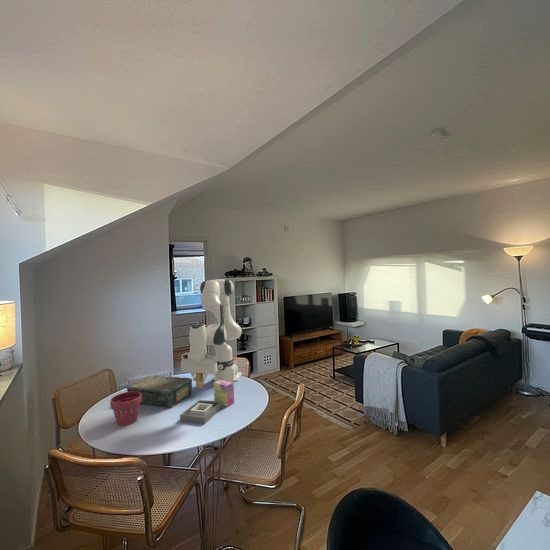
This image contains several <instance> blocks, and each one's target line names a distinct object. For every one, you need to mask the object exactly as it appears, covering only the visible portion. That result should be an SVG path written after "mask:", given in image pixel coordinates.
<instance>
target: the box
mask: <svg viewBox="0 0 550 550" xmlns="http://www.w3.org/2000/svg"><path fill="white" fill-rule="evenodd" d="M234 384H235V382H228V381H224V380H218V381H216V382H215V381H214V382H213V401H218V402H222V407H223V406H224V407H226V408H229V407H230V406H232V405H233V404H235V389H234V388H235V387H234V386H235V385H234Z"/></svg>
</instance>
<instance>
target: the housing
mask: <svg viewBox="0 0 550 550" xmlns="http://www.w3.org/2000/svg"><path fill="white" fill-rule="evenodd" d="M222 407H223V405H222V402H218V401H214V400H206V399H204V400H203V399H198V400H197V401H196V402H194V404H192V405H191V406H189V407H188V408H187V409H185V410H184V411H183V412H182V413H181V414H179V418H180V419H179V421H180V422H186V423H195V424H203V425H204V424H205V425H206V424H207V423H208V421H210V419H212V418H213V416H215V415H216V414H217V413H218V412H219V411H220V410H221V409H222Z"/></svg>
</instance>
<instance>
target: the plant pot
mask: <svg viewBox="0 0 550 550" xmlns="http://www.w3.org/2000/svg"><path fill="white" fill-rule="evenodd" d="M141 401H142V394H141V393H140V392H138V391H130V392H127V391H125V392H122V393H119V394H116V395H115V396H113V397H111V398H110V403H109V404H110V409H111V410H112V411H113V415H114V418H115V421H116V423H117V425H118V426H119V427H125V426H129V425H132V424H134V423H135V422H137V420H138V418H139V410H140V405H141V404H140V403H141Z"/></svg>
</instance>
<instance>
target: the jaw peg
mask: <svg viewBox="0 0 550 550" xmlns="http://www.w3.org/2000/svg"><path fill="white" fill-rule="evenodd" d="M195 376H196V381H195V388H196V389H200V390H201V389H203V388H205V386H204V385H205V382H203V381H202V378H203V377H204V373H195Z"/></svg>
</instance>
